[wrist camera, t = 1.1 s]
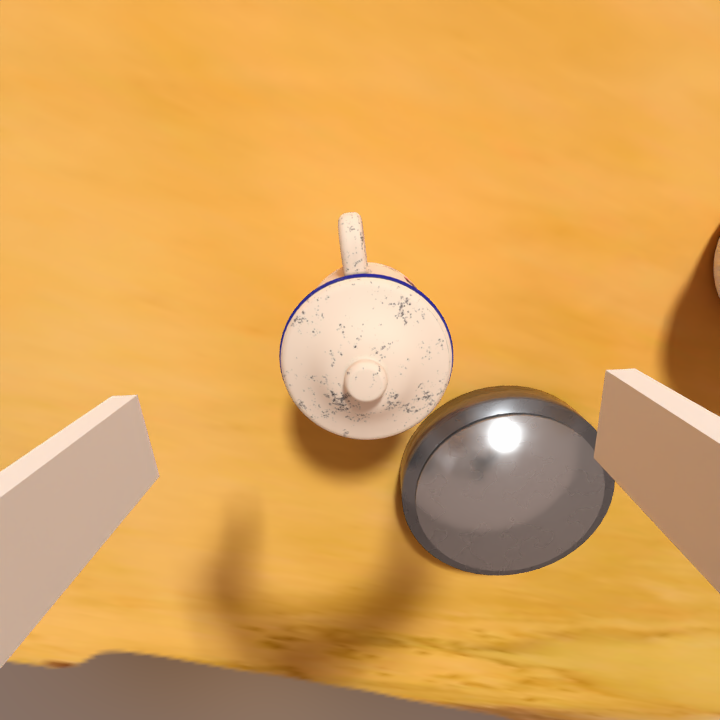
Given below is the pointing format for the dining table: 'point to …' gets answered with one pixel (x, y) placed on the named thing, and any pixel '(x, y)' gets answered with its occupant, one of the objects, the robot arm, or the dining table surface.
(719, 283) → the ramekin
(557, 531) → the dark gray round plate
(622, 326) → the dining table surface
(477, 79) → the dining table surface
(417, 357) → the teacup with lid
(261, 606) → the dining table surface
